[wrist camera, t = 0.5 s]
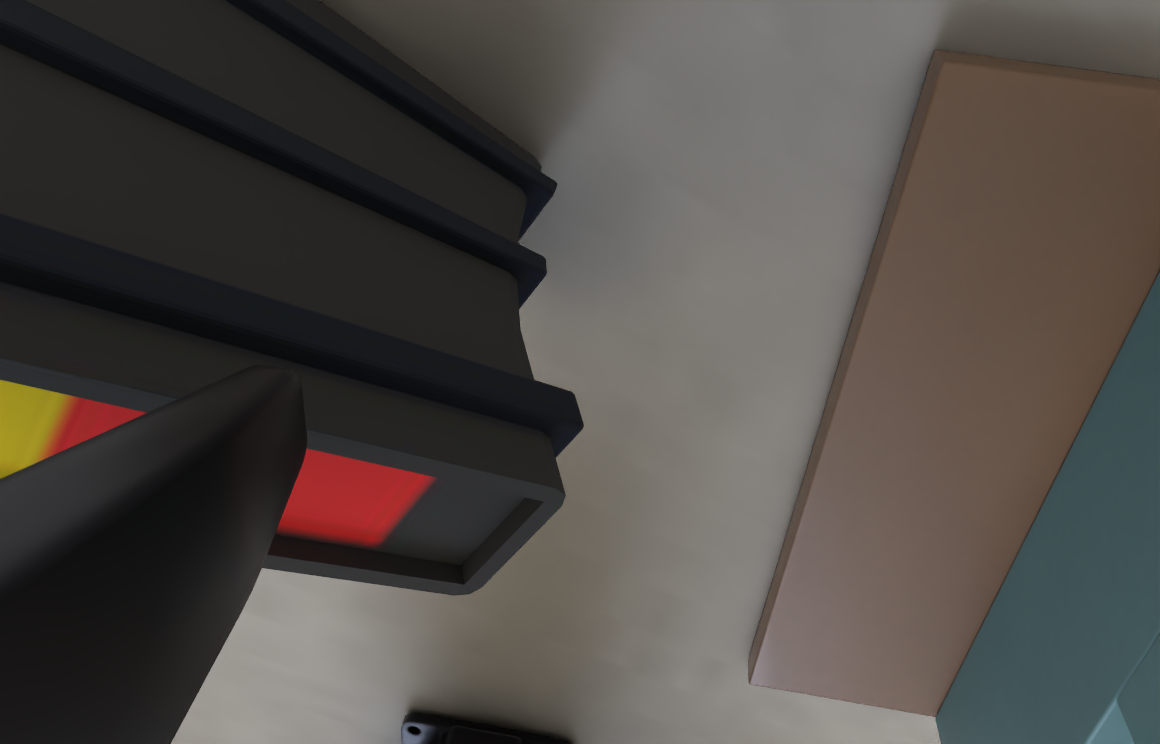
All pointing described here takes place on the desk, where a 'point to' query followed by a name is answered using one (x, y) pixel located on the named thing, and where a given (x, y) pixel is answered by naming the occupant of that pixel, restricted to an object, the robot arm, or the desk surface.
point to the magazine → (278, 269)
